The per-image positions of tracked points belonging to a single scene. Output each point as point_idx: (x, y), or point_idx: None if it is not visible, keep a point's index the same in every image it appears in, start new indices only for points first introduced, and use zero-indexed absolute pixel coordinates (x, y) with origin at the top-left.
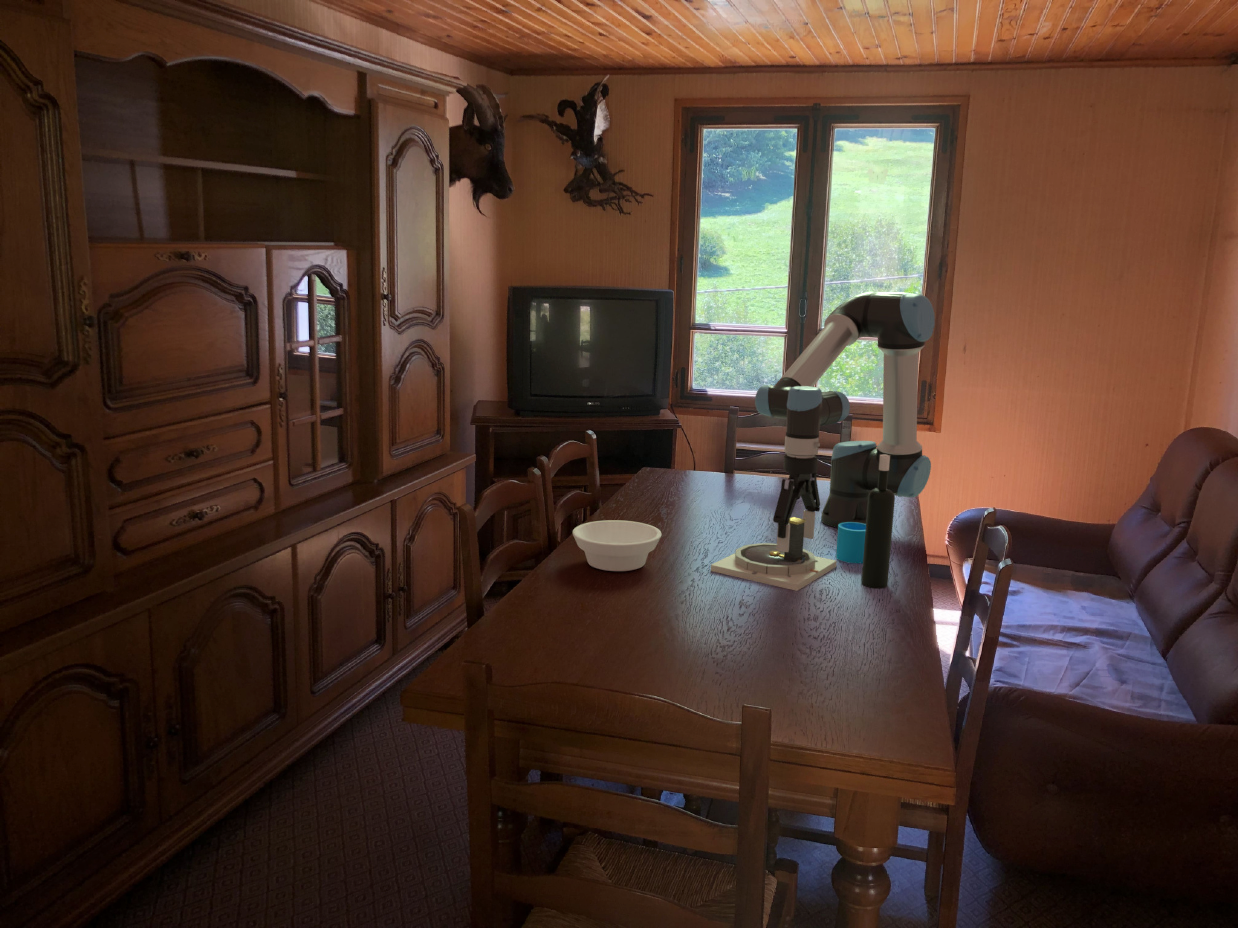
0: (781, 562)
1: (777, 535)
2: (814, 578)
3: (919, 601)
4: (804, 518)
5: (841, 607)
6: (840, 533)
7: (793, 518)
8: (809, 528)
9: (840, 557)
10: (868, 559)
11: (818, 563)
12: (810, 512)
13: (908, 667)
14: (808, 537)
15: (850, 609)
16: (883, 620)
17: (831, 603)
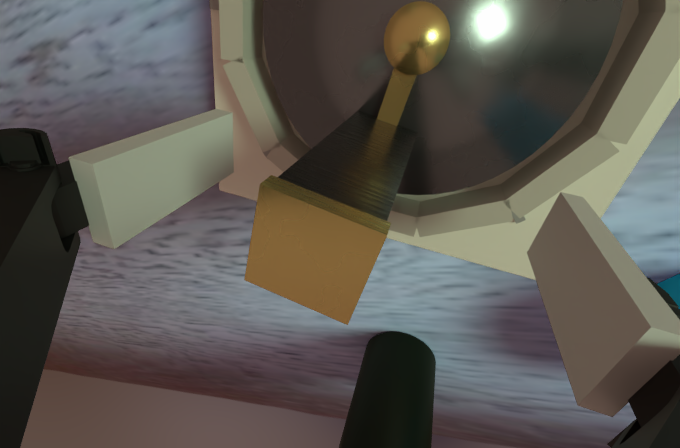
0: (305, 111)
1: (154, 130)
2: None
3: (327, 412)
4: (602, 282)
5: (199, 287)
6: None
7: (334, 240)
8: (553, 272)
9: (667, 290)
10: (350, 410)
11: (488, 226)
12: (598, 377)
13: (71, 356)
14: (539, 235)
15: (201, 302)
16: (191, 348)
17: (206, 268)
